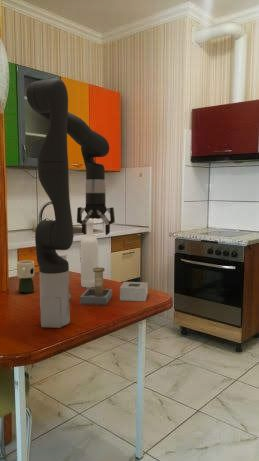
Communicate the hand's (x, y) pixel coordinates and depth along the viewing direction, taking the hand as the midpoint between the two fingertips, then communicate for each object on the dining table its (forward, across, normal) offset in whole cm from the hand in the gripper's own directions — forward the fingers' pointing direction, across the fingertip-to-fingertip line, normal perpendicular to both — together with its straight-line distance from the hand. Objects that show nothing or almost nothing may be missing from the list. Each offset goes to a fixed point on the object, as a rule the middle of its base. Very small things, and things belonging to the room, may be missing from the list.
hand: (95, 234), depth 143 cm
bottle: (+26, -8, +22) cm, 35 cm away
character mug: (+26, -32, +8) cm, 42 cm away
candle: (+26, -20, +16) cm, 37 cm away
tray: (+26, 0, 0) cm, 26 cm away
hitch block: (+26, +14, +6) cm, 30 cm away
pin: (+25, +1, 0) cm, 25 cm away
